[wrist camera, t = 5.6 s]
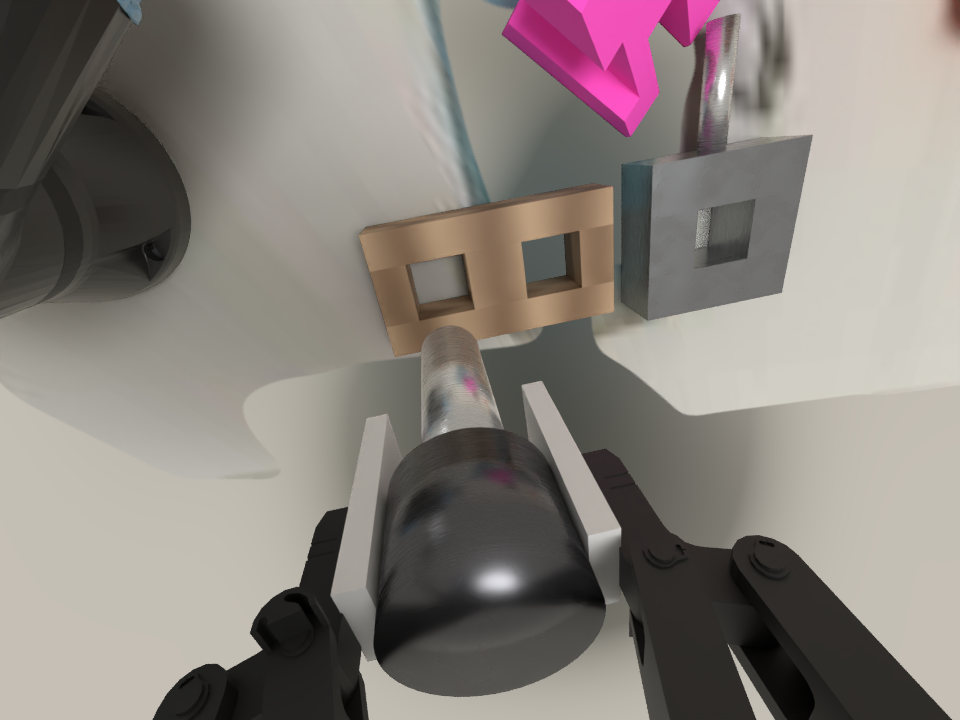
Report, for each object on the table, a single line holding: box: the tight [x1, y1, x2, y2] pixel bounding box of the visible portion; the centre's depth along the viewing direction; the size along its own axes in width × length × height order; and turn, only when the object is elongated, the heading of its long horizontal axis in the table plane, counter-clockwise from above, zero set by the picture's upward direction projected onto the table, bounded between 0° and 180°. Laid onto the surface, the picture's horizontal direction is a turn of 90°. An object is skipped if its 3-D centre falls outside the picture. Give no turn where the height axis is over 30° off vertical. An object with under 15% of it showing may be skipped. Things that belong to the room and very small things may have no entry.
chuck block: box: [621, 14, 813, 321], centre depth 32 cm, size 12×20×5 cm, turn 9°
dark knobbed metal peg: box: [373, 325, 606, 697], centre depth 15 cm, size 5×5×14 cm
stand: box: [359, 183, 614, 357], centre depth 33 cm, size 19×10×4 cm, turn 99°
